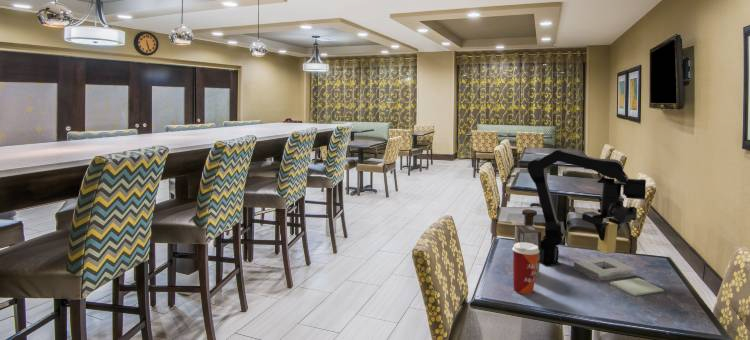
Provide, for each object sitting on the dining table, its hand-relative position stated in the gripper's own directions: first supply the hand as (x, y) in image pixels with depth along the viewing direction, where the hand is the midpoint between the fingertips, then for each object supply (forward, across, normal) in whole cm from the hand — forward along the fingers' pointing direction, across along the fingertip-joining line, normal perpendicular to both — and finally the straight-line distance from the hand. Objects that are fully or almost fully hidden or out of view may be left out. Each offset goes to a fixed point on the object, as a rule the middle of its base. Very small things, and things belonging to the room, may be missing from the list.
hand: (607, 239), depth 169 cm
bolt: (+12, -9, +32) cm, 35 cm away
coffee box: (+12, -27, +8) cm, 31 cm away
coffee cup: (+12, -37, -5) cm, 39 cm away
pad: (+12, 0, -14) cm, 18 cm away
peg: (+4, 0, 0) cm, 4 cm away
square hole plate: (+12, 0, 0) cm, 12 cm away
